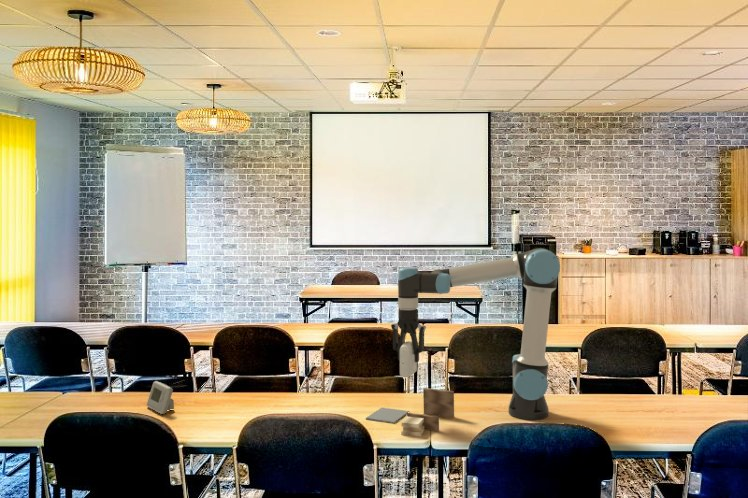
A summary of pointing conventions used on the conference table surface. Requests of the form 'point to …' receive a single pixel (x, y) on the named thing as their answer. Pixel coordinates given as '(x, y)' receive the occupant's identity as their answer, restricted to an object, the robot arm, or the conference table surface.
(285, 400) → the conference table surface
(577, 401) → the conference table surface
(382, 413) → the slate pad
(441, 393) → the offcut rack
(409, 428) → the offcut stack
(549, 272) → the robot arm
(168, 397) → the digital clock
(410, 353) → the white arched block
